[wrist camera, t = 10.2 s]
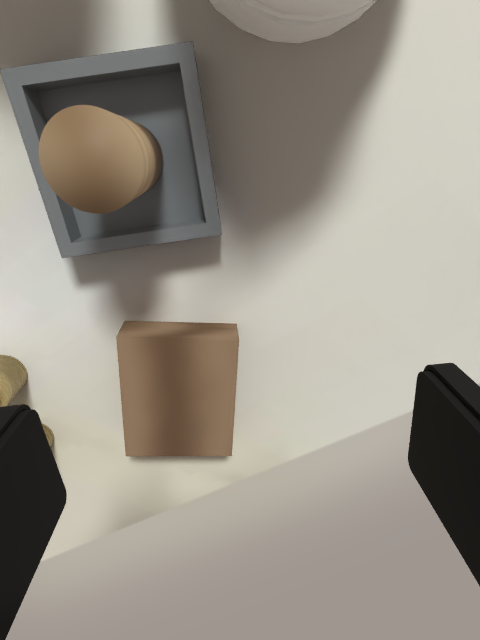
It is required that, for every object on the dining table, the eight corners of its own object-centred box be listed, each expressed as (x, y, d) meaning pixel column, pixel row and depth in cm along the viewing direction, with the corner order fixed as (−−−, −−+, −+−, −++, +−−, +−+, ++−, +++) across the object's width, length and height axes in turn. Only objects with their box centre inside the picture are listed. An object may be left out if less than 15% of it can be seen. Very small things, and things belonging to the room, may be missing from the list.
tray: (194, 53, 21) (192, 41, 19) (220, 227, 25) (221, 234, 23) (22, 78, 21) (-1, 69, 19) (75, 248, 25) (61, 258, 23)
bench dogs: (18, 352, 28) (-30, 401, 22) (59, 448, 31) (26, 510, 26) (-23, 358, 28) (-81, 409, 22) (22, 453, 31) (-19, 517, 26)
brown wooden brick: (236, 321, 28) (238, 339, 26) (230, 430, 32) (231, 455, 30) (125, 318, 28) (116, 337, 25) (133, 429, 32) (125, 456, 29)
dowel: (155, 116, 22) (129, 97, 14) (169, 189, 23) (152, 206, 16) (85, 125, 22) (23, 112, 14) (104, 198, 23) (57, 220, 16)
